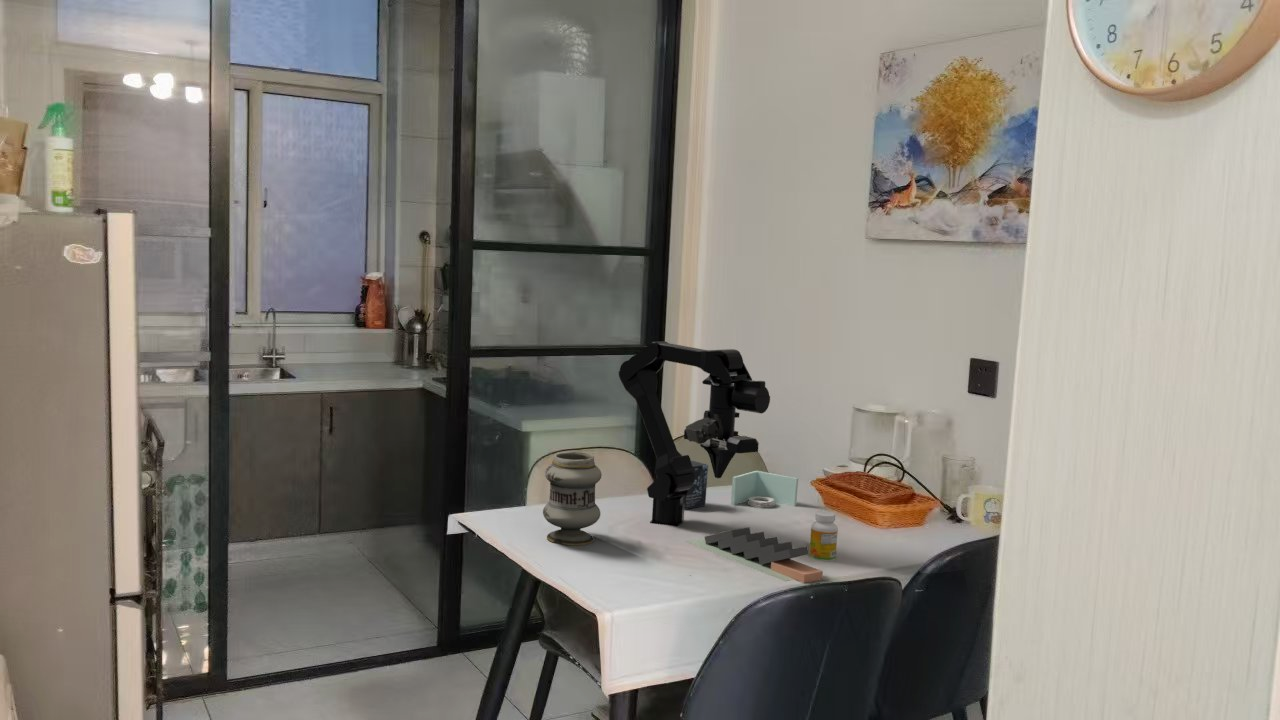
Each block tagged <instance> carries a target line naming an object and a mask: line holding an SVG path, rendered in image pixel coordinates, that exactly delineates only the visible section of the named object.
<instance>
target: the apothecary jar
mask: <svg viewBox="0 0 1280 720" xmlns="http://www.w3.org/2000/svg"><path fill="white" fill-rule="evenodd" d="M544 476H545V478H546V480H547V481H548V482H549V484H550V485H549V488H550V489H549V499H548V502H547V503H545V505H544V507H543V509H542V515H543V517H544V519H545V520H546V521H547V522H548V523H549V524H551V525H553V526H555V527H558V528H560V529H557V530H553V531H551V532H549V533H548V534H547V535H546V539H547V540H548V541H549V542H551V543H554V544H561V545H563V546H585V545H589V544H591V543H593V542H594V539H595V538H594V537H593V536H592V535H591V534H590V533H588V532H587V531H584V530H583V529H585V528H588V527H590V526H593V525H595V524H596V523H597V522H598V521H599V519H600V518H601V509H600V507H599V506H598V505H597V504H596V485H597V484H598V482H600V481H601V479H602V471H601V469H600V468H599V467H598V466H597V465H596V463H595V456H594V454H591V453H587V452H583V451H581V452H580V451H563V452H557V453H555V454H554V455H553V460H552V462H551V464H549V465H548V466H547V467H546V468H545V471H544Z"/></svg>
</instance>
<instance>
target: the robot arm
mask: <svg viewBox="0 0 1280 720" xmlns="http://www.w3.org/2000/svg"><path fill="white" fill-rule="evenodd" d="M665 362H672V363H677V364H682V365H685V366H686V365H687V366H690V367H691V366H692V367H696V368H698V369H701V371H703V372H705V374H709V375H708V376H707V377H706V378H705V379H704V380H702V381H701V382H702V384H703V385H708V386H710V394H709V409H708V410H707V409H706V410H704V412H703V417H702V418H701V419H698V420H695V421H694V422H692V423H690V424H688V425H686V426H685V429H684V430H683V431H684V432H683V439H684V440H687V441H688V442H694V443H696V444H697V445H699V446H700V447H701V448H703V449H704V450H705V451H706V452H707V455H708V456H709V460H710V463H711V468H712V471H713V475H714V478H715V479H720V478H722V476H723V475H724V473H725V471H726V469H727V467H729V464H730V463H731V461H732V460H733V458H734V457H735V455H736V454H747V453H758V452H759V444H760V443H759V441H758V440H757V438H756V437H755V438H754V437H750V436H747V435H742V436H739V431H737V430H735V424H736V418H737V419H738V418H740V412H737V411H744V412H749V413H756V414H764V413H765V412H766V411H767V410H768V408H769V406H770V403H771V402H770V401H771V396H770V393H769V390H768V388H767V387H766V381H764V380H753V378H752V376H751V375H750V372H749V370H748V369H747V367H746V365H745V362H744V359H743V355H742V354H741V352H740V351H739V350H737V349H734V348H732V349H731V348H729V349H704V348H697V347H691V346H687V345H680V344H675V343H671V342H668V341H665V340H664V341H652V342H651V343H649V344H648V345H647V346H646V347H645V348H644V349H642V350H640V351H638V352H637V353H636V354H634V355H633V356H631V357H630V358H629V359H628V360H625V361H623V362H622V363H621V365H620V367H619V370H618V377H619V380H620V381H621V383H622V386H623V387H624V389H625V391H626V392H627V393H628V394H629V395H630V396H631V397H632V398H633V399H634V400H635V402H636V404H637V407H638V410H639V413H640V415H641V418H642V420H643V424H644V426H645V429H646V432H647V434H648V438H649V440H650V443H651V445H652V446H651V447H652V448H653V451H654V455H655V458H656V461H655V466H654V467H655V469H654V473H655V477H656V479H655V480H654V481H653V482H652V483H651V484H650V485H649V486H647V488H646V491H647V494H648V497H649V498H651V499H653V500H652V511H651V512H652V515H651V520H650V521H649V524H655V525H661V526H670V527H679V526H680V525H681V524H683V522H684V521H685V510H684V508H685V504H684V503H682V501H683V497H682V496H687V495H688V492H689V490H690V488H691V487H692V486H693V483H694V481H695V476H694V472H695V469H694V468H693V466H692V464H691V461H692V460H691V457H690V455H689V454H686V455H683V454H681V453H680V452H679V451H678V449H677V447H676V444H675V441H674V439H673V436H672V433H671V430H670V427H669V425H668V422H667V419H666V416H665V414H664V411H663V408H662V406H661V404H660V400H659V397H658V394H657V389H658V383H659V382H658V375H657V374H658V373H659V371H660V370H662V368H663V366H664V364H665Z"/></svg>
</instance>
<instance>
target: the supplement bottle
mask: <svg viewBox="0 0 1280 720" xmlns="http://www.w3.org/2000/svg"><path fill="white" fill-rule="evenodd" d="M814 517H815V521H814V522H812V524H811V527H810V540H809V541H810V542H809V550H808V552H809V555H808V556H809V558H811V559H813V560H817V561H824V562H825V561H826V562H828V561H835V560H836V555H837V542H838V525H837V524H836V523H835V522H836V513H834V512H832V511H826V510H825V511H823V510H820V511H819V510H818V511H816V512H815V516H814Z"/></svg>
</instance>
